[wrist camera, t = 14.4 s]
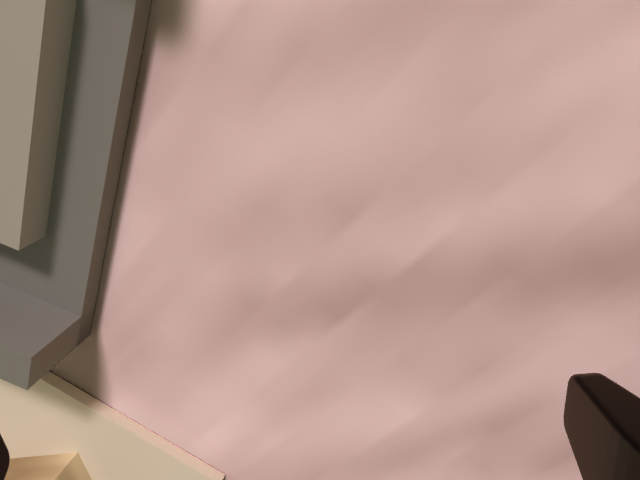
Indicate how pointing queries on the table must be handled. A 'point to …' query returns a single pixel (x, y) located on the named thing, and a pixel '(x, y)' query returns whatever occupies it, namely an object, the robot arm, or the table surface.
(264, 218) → the table surface
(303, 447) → the table surface
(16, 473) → the block
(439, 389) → the table surface
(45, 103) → the grey walled tray
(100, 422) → the tile
